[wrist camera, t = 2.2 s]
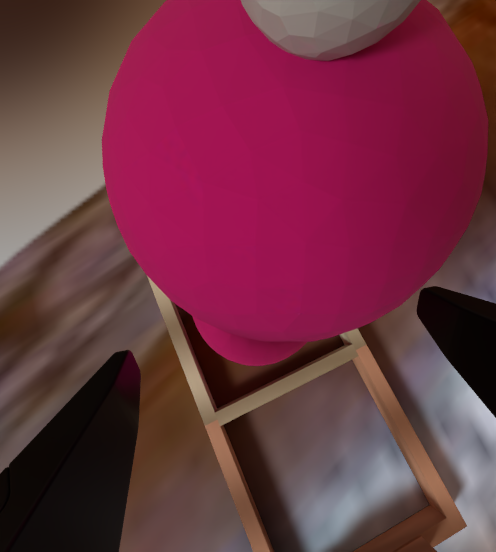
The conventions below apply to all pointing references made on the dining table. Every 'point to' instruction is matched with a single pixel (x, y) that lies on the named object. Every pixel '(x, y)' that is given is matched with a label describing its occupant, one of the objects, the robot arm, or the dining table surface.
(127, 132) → the pepper mill
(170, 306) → the rack
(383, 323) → the dining table surface
